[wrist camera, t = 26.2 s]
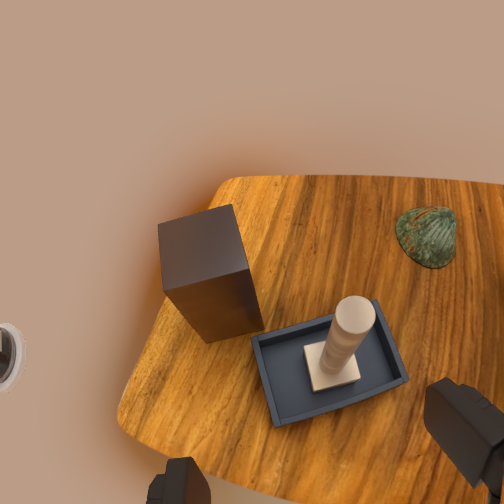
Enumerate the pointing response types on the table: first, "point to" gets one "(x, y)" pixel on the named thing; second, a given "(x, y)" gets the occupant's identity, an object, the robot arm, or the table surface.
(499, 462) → the robot arm
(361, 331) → the wooden peg on base
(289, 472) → the table surface
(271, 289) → the table surface
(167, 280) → the stand
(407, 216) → the seashell
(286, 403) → the tray
